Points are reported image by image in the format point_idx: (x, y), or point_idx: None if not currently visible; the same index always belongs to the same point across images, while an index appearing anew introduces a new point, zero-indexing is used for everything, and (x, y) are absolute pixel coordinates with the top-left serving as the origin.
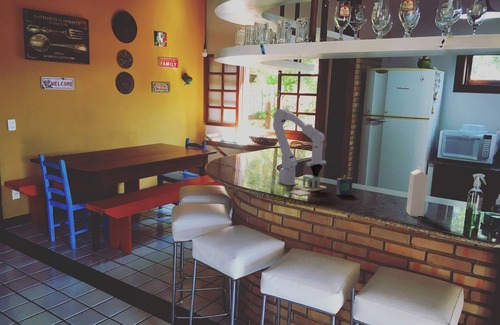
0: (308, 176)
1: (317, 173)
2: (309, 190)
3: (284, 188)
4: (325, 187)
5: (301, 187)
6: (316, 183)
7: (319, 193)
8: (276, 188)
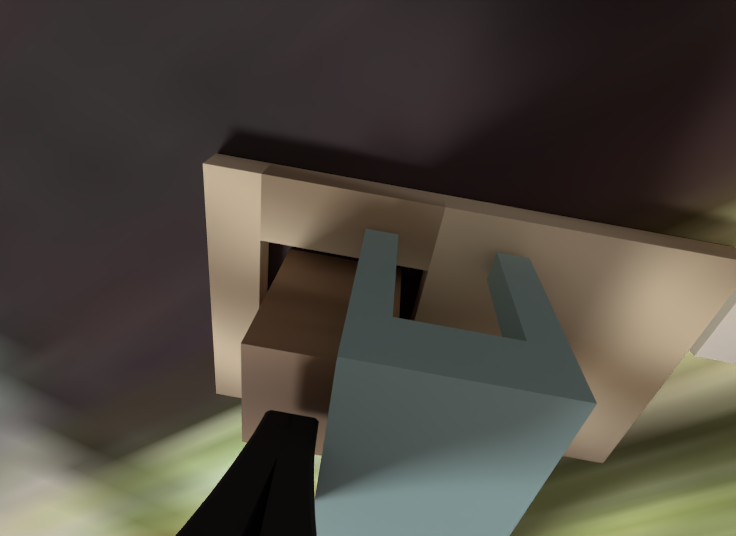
0: (459, 529)
1: (272, 516)
2: (666, 243)
3: (658, 491)
4: (234, 165)
5: None
6: None
7: (688, 22)
8: (713, 530)
